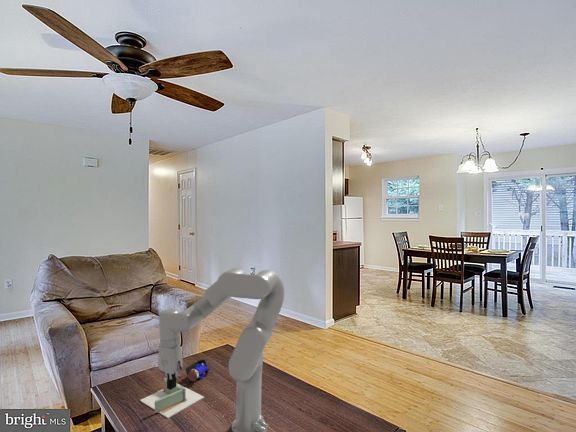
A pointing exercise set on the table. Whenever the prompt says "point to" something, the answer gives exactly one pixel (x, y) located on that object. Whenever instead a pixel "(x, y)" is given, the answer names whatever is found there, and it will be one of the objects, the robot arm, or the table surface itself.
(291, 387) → the table surface
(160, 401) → the hinged fence panel
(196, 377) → the character figurine
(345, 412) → the table surface
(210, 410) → the table surface
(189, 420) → the table surface
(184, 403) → the card
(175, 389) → the fixed fence panel
